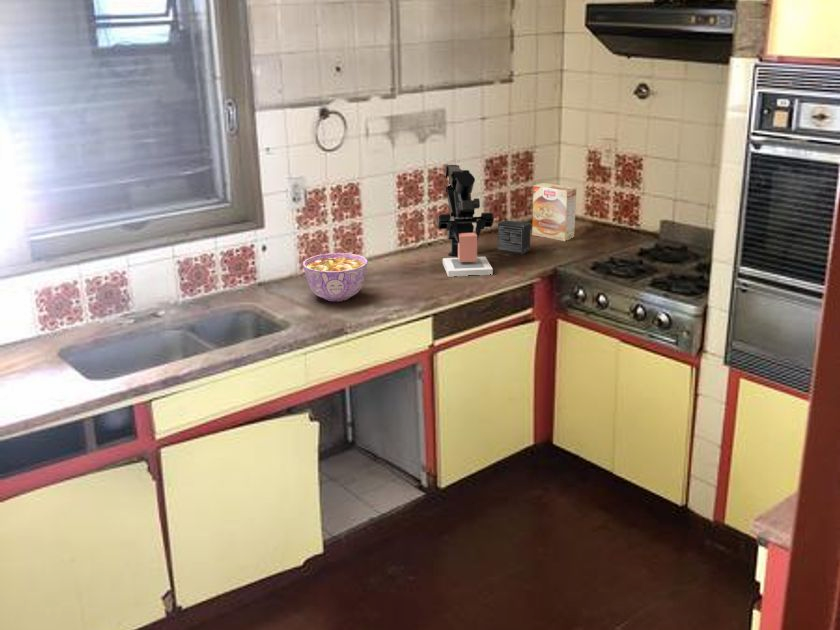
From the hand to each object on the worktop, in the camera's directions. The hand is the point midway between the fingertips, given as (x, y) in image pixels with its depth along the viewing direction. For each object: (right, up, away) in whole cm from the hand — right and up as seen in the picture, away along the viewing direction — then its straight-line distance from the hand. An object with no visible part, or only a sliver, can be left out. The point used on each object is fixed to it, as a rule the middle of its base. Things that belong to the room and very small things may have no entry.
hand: (468, 242), depth 311 cm
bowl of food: (-42, -19, -21) cm, 51 cm away
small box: (+18, -1, +25) cm, 31 cm away
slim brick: (0, -6, +4) cm, 7 cm away
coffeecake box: (+35, +5, +43) cm, 55 cm away
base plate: (0, -9, +5) cm, 10 cm away
